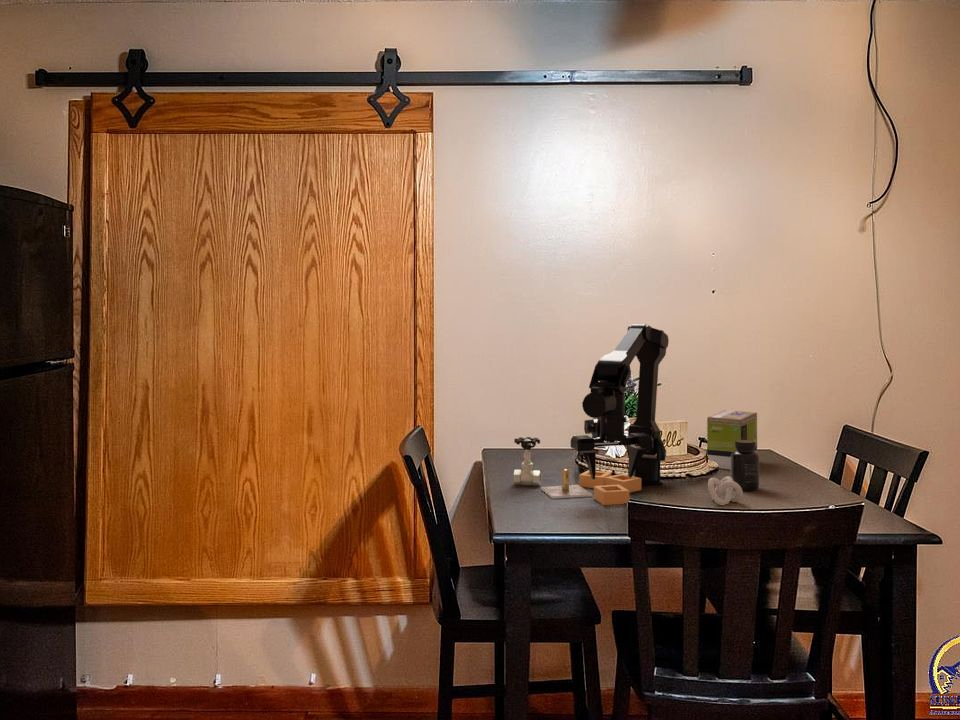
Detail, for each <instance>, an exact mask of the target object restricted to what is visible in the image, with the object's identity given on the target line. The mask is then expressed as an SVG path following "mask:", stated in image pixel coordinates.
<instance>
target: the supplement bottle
mask: <svg viewBox="0 0 960 720" xmlns="http://www.w3.org/2000/svg"><path fill="white" fill-rule="evenodd" d="M735 449H736V450H735V451H734V452H732V454H731V470H730V477H731V478H732V479H733V481H734V482H736V483H737V484H739V485H740V487H741V488H742V491H743V492H755V491H758V490H759V488H760V454H759V453H758V451H757V452H755V451H754V449H755V441H751V440H736V441H735ZM733 490H735V489H734V488H733Z"/></svg>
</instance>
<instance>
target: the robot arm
mask: <svg viewBox="0 0 960 720" xmlns="http://www.w3.org/2000/svg"><path fill="white" fill-rule="evenodd" d="M668 347H669V335H668V334H666V332H665V331H664V330H662V329H658V328H654V327H652V326H650V325H648V324H644V323H643V324H642V323H640V324H636V323H633V324H629V325H628V327H627V331H626V333H625V335H623V337H622V338H621V340H620V342H618V345H617V346H616V347H615V348H614V350H613V351H612V352H610V353H607V354H604V355H603V356H602V357H601V358H599V360H598V361H597V362H596V364H595V366H594V369H593V372H592V376H591V379H590V383H589V386H588V388H589V389H590V392H589V393H588V394H586V395H585V396H584V398H583V401H582V409H583V412H584V414H585V415H587V416H588V417H589V418H592V419H585V420H584V427H583V428H584V433H585V435H573V436H572V437H571V439H570V448H571V449H573V450H575V451H576V452H577V453H580V454H581V455H582V457H583V458H584V461H585V463H586V466H587V468H588V470H589V472H590V475H591V478H592V479H593V480H594V479H595V474H596V471H597V468H596V466H597V465H596V461H597V454H596V452H595V451H594V449H595V447H596V448H597V447H613V446H616V447H617V446H626V452H627V458H628V462H627V463H628V466H627V475H628V476H629V477H632V476H634V477H638V478H641V486H644V485H645V486H649V485H661V484H664V481H663V480H661V462H663V461H666V457H667V449H666V447H665V445H664V442H663V440H662V435H661V433H662V432H661V429H660V427H659V426H658V424H657V422H656V411H657V410H656V409H657V408H656V407H657V395H658V394H657V392H658V380H659V379H658V376H659V367H660V366H659V365H660V364H661V362H662V361H663V359H664V358H665V357H666V356H667V355H666V354H667V348H668ZM635 358H637V360H638V363H639V369H638V370H639V373H638V375H639V376H638V385H637V386H638V388H637V399H636V400H637V401H636V403H637V405H636V417H635V420H634V421H633V423H632V425H631V424H630V425H629V426H628V429H627V430H628V432H627V433H628V434H627V435H626V434H625V423H627V417H625V413H626V412H625V407H626V406H625V402H626V401H625V392H627V391H628V389H627V385H628V382H629V379H630V377H631V374H632V370H631V363H632V361H634V359H635ZM595 418H596V419H597V421H596V422H595V420H593V419H595ZM590 434H591V436H589V435H590Z"/></svg>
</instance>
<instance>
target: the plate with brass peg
mask: <svg viewBox="0 0 960 720" xmlns="http://www.w3.org/2000/svg"><path fill="white" fill-rule="evenodd" d="M539 490H540V491H542V492H543V493H544V492H545V493H544V494H545V495H547V496H548V497H549V498H551V499H552V500H555V499H556V500H557V499H570V498H571V499H572V498H573V499H574V498H590V497H593V493H591V492H590V491H588V490H587V489H586V488H585V487H581V486H579V484H571V485H570V470H569V469H568V468H564V469H563V470H562V471H561V485H554V486H553V485H551V486H540V488H539Z"/></svg>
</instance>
